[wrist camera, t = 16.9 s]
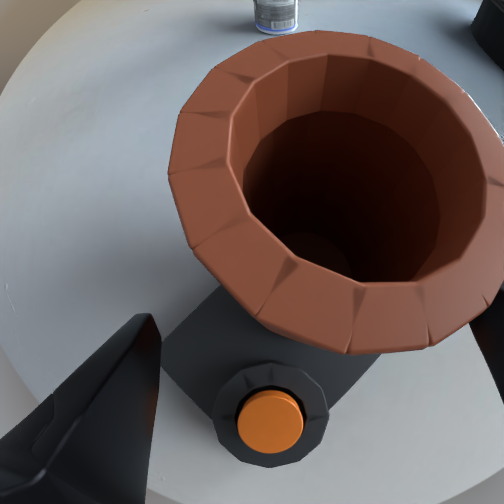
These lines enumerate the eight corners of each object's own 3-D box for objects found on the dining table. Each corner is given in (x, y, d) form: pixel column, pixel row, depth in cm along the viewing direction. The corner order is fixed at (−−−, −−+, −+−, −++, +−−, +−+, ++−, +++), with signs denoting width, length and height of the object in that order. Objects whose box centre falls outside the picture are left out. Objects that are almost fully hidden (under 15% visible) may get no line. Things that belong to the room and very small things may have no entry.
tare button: (270, 452, 14) (269, 464, 12) (228, 416, 15) (223, 424, 13) (312, 415, 15) (316, 424, 13) (271, 377, 15) (270, 382, 14)
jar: (269, 356, 17) (257, 430, 4) (230, 253, 19) (141, 78, 5) (372, 311, 17) (556, 248, 4) (328, 215, 19) (399, 22, 6)
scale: (270, 462, 17) (269, 484, 13) (158, 352, 19) (136, 355, 16) (406, 322, 18) (430, 319, 15) (296, 217, 21) (300, 195, 18)
